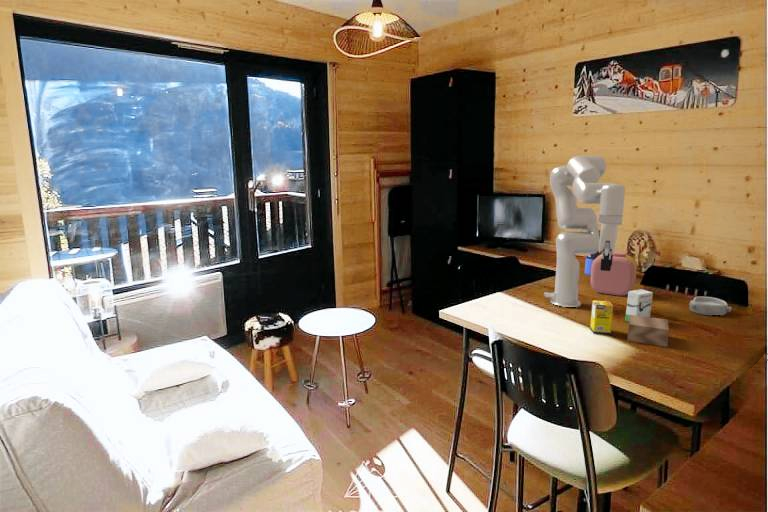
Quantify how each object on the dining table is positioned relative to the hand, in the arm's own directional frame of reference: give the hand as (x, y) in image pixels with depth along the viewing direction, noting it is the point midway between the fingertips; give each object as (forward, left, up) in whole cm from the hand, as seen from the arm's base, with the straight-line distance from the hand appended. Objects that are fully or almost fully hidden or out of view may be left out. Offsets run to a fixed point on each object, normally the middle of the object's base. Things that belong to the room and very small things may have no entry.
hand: (606, 267), depth 173 cm
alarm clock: (+1, +61, -24) cm, 66 cm away
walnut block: (+15, 0, -24) cm, 28 cm away
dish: (+38, +47, -24) cm, 65 cm away
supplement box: (0, 0, -24) cm, 24 cm away
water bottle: (-10, +99, -24) cm, 102 cm away
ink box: (+12, +20, -24) cm, 34 cm away
